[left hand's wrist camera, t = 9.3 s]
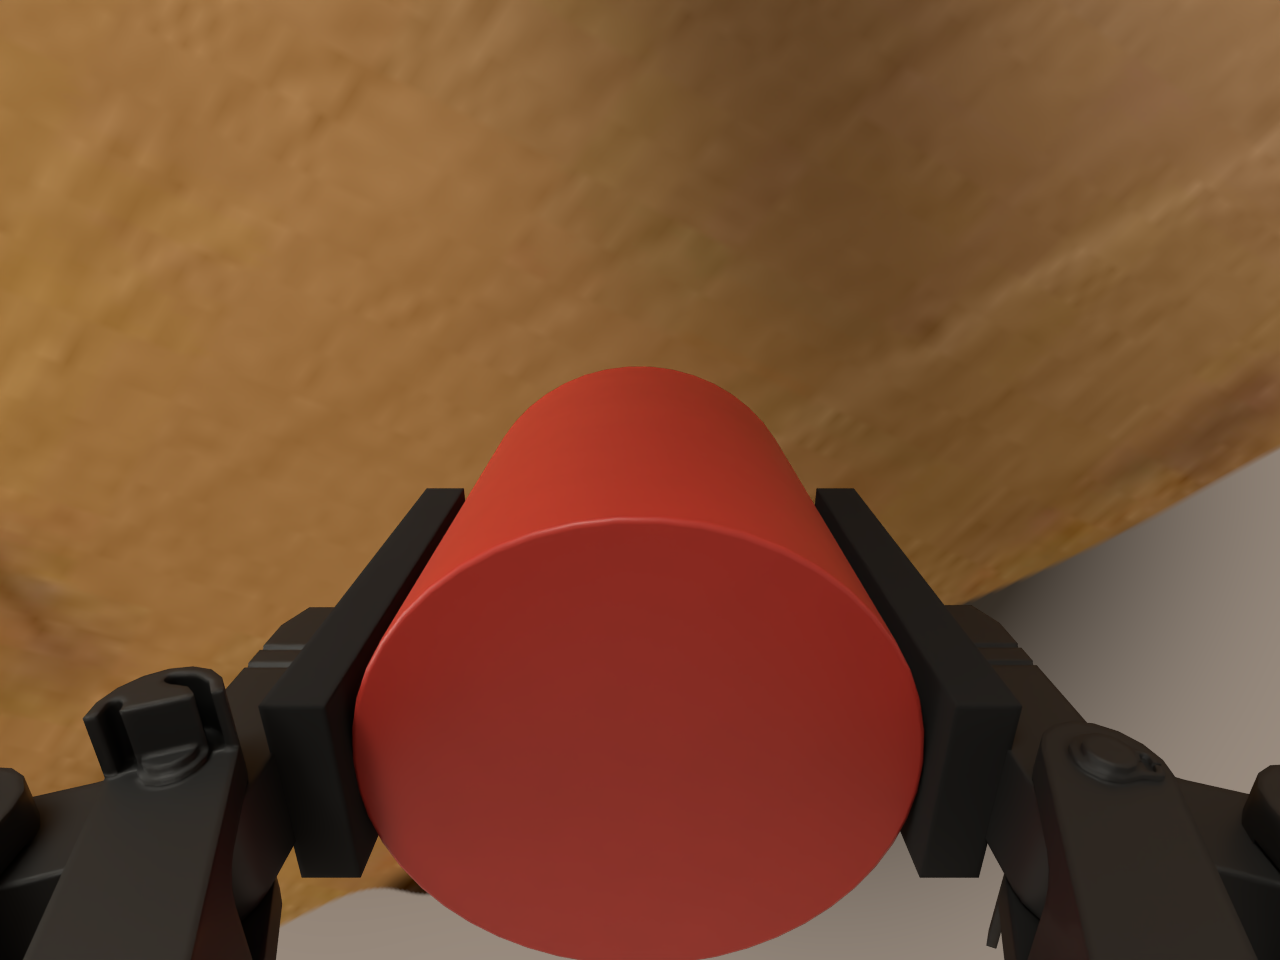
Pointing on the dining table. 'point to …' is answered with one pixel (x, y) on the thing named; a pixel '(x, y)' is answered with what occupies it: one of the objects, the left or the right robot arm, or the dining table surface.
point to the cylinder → (638, 688)
